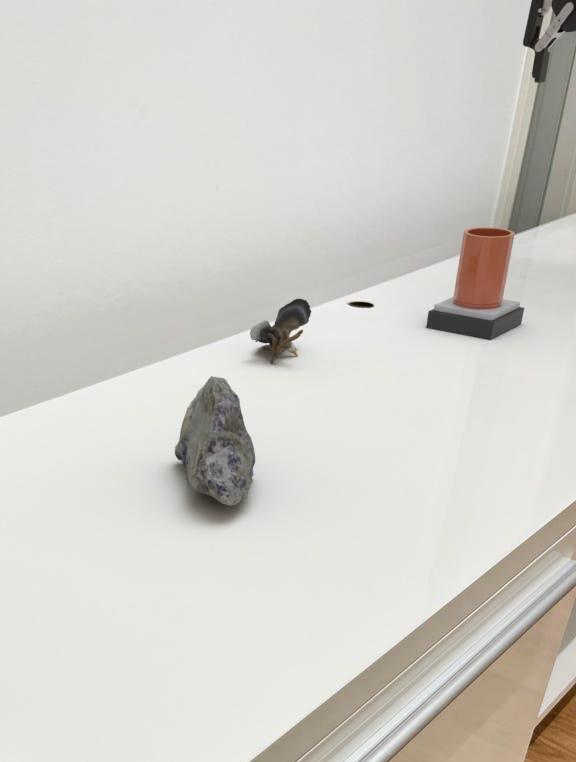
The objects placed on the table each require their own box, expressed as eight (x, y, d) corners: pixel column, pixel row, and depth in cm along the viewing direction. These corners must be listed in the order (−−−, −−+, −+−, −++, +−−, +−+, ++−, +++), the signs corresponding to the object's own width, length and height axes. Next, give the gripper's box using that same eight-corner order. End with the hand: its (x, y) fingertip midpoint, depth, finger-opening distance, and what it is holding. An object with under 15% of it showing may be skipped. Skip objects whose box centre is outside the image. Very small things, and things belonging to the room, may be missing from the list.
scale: (521, 324, 139) (525, 301, 137) (490, 339, 134) (494, 316, 132) (457, 312, 144) (461, 291, 143) (425, 327, 139) (429, 304, 137)
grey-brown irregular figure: (319, 357, 125) (324, 323, 132) (290, 309, 122) (296, 277, 129) (265, 385, 130) (272, 351, 136) (235, 340, 126) (244, 307, 133)
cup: (509, 302, 137) (522, 231, 133) (488, 312, 134) (501, 239, 129) (466, 294, 141) (477, 225, 136) (444, 304, 137) (455, 233, 133)
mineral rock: (230, 525, 90) (236, 415, 85) (124, 501, 95) (123, 395, 89) (287, 473, 99) (295, 371, 94) (187, 453, 104) (190, 355, 99)
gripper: (530, -55, 136) (508, 84, 145) (643, -63, 128) (613, 84, 136) (552, -53, 141) (530, 81, 149) (662, -61, 133) (633, 81, 141)
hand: (570, 82), depth 143 cm, fingers open, 8 cm apart
